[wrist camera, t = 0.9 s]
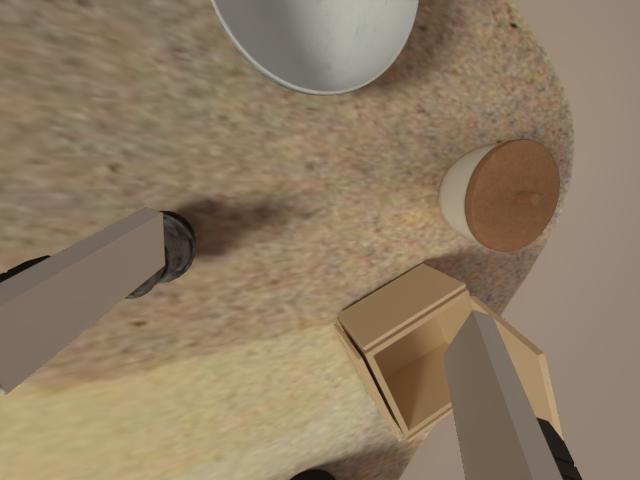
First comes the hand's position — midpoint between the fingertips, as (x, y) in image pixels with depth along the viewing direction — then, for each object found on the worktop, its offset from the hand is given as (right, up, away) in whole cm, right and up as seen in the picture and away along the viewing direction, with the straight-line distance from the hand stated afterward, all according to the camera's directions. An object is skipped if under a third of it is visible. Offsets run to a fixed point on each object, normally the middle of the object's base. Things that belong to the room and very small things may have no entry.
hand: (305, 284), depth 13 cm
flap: (+18, -8, +19) cm, 27 cm away
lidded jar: (+17, +8, +23) cm, 30 cm away
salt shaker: (-14, +2, +15) cm, 20 cm away
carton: (+10, -9, +25) cm, 28 cm away
